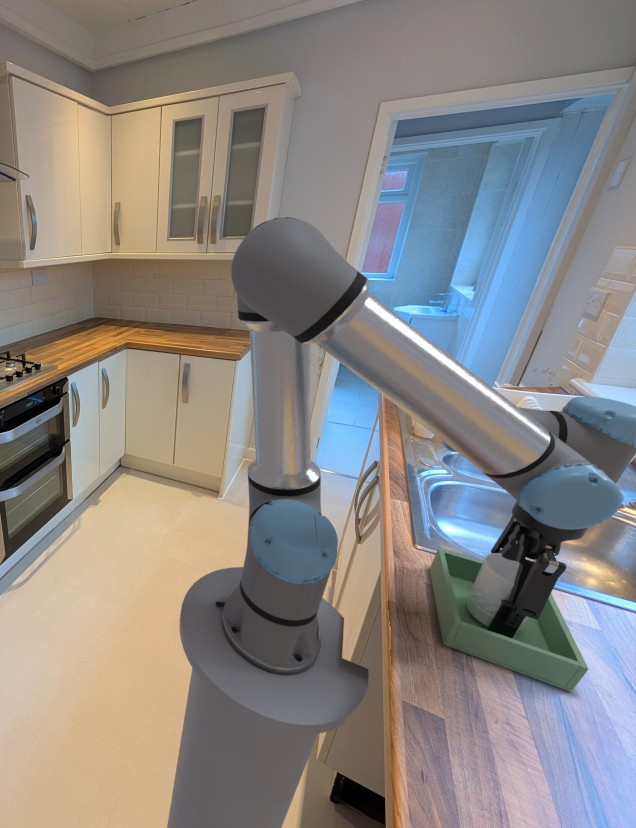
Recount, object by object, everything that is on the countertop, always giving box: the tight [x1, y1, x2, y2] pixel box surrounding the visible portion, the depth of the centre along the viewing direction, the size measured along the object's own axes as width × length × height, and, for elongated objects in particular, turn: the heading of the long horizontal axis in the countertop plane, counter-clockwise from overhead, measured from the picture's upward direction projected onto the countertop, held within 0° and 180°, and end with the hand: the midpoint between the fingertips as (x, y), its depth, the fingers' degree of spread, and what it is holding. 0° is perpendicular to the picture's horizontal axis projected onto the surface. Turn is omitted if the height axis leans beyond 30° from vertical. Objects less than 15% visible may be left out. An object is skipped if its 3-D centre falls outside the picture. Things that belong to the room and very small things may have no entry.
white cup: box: [466, 553, 530, 632], centre depth 68 cm, size 8×8×10 cm
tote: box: [428, 548, 589, 693], centre depth 70 cm, size 15×19×5 cm
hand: (493, 615), depth 70 cm, fingers closed on white cup, 8 cm apart
